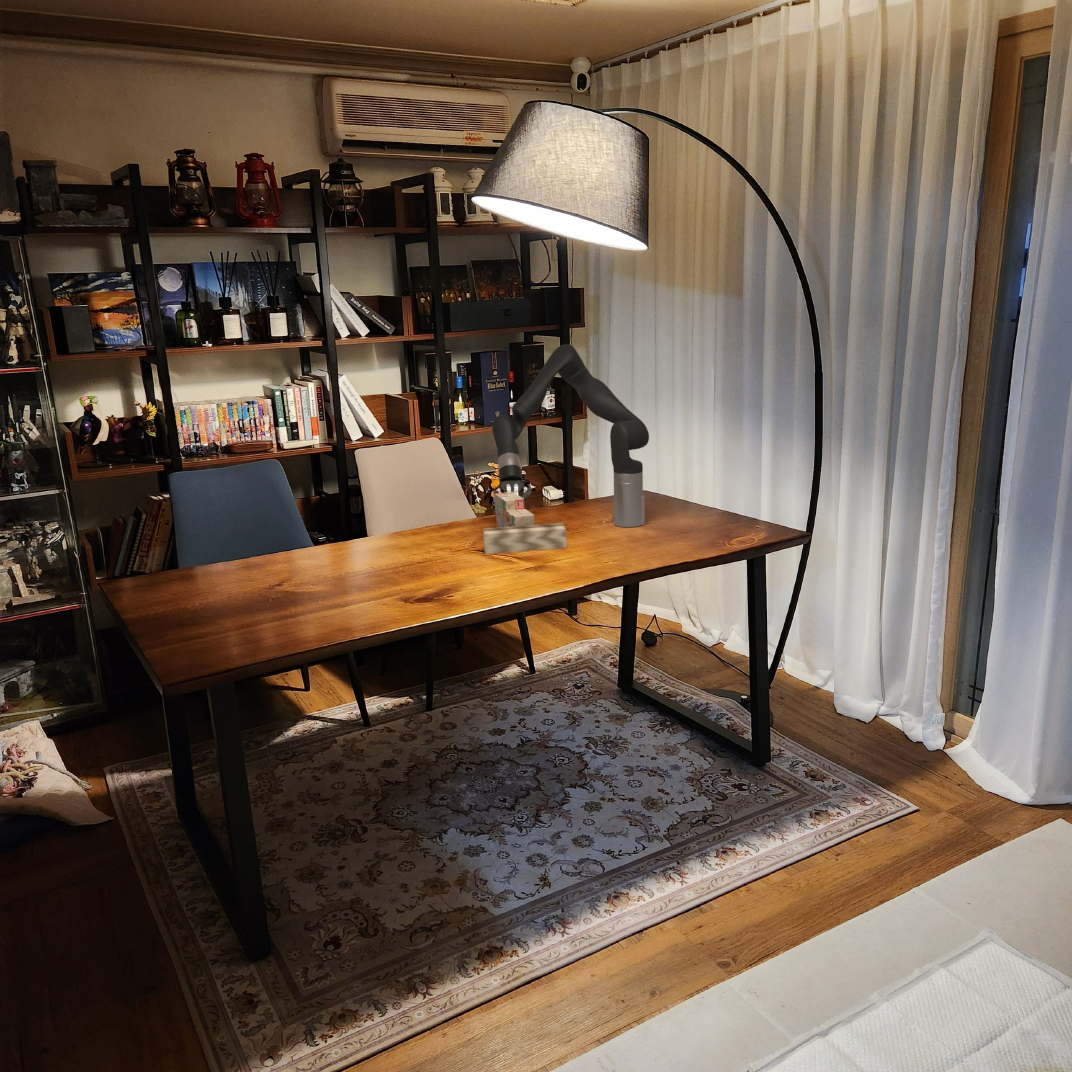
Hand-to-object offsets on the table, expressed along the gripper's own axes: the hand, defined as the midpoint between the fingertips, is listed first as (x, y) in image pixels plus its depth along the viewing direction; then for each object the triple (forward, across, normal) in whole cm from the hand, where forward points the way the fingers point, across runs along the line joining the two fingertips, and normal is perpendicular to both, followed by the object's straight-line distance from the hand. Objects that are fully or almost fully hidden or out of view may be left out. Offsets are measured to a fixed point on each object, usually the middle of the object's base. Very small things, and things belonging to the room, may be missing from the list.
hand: (514, 515), depth 296 cm
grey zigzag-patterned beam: (+20, 0, +15) cm, 25 cm away
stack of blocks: (+11, +1, +5) cm, 12 cm away
